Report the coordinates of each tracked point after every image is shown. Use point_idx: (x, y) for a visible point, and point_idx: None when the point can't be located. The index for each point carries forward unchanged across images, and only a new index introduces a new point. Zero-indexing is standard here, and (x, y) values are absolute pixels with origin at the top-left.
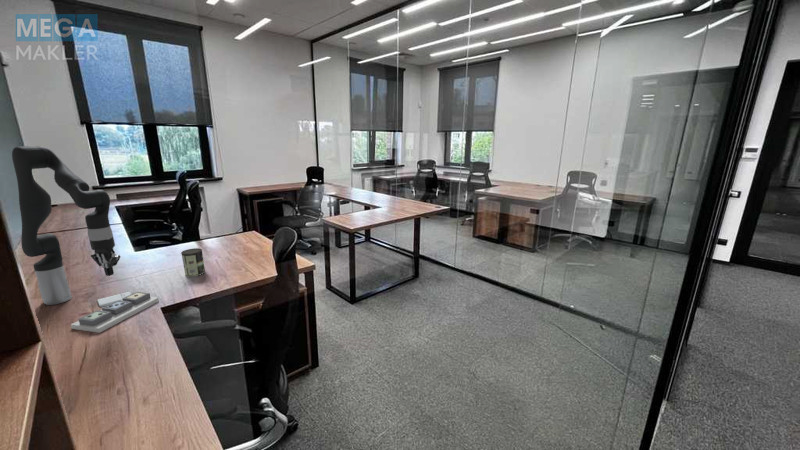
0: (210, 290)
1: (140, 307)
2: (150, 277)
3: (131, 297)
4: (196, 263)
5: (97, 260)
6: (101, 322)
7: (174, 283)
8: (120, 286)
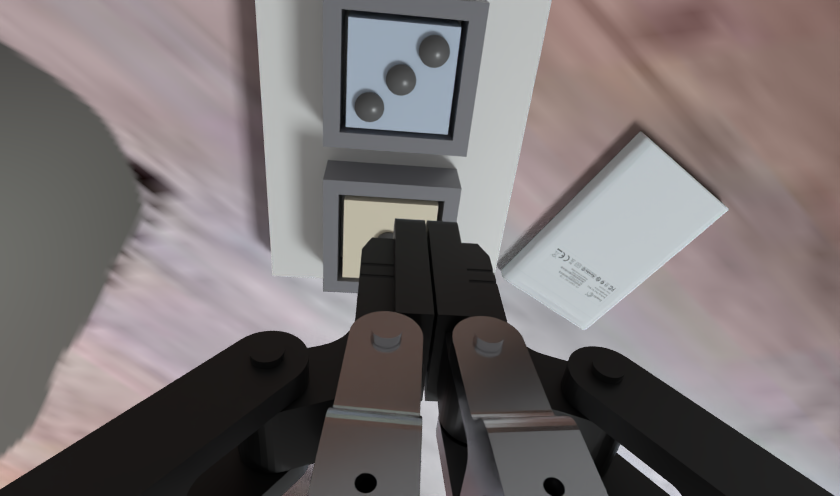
0: (84, 409)
1: (265, 135)
2: None
3: (399, 213)
4: None
5: (707, 490)
6: None
7: None
8: (710, 376)
